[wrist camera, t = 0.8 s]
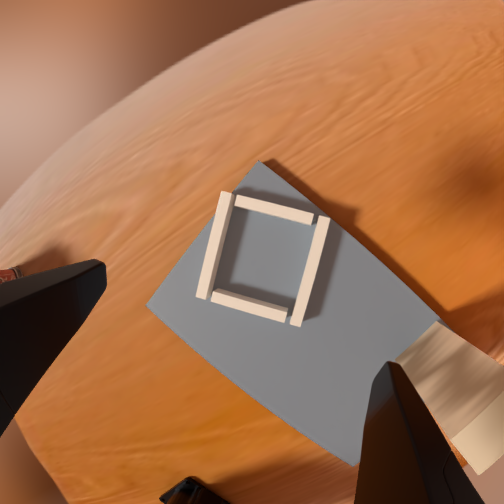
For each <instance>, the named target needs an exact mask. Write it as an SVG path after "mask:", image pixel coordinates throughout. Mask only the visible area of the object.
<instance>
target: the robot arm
mask: <svg viewBox="0 0 504 504" xmlns="http://www.w3.org/2000/svg"><path fill="white" fill-rule="evenodd" d="M106 286H107V277H106V265H105V263H104V262H101V261H99V260H97V259H91V260H87V261H83V262H79V263H75V264H71V265H67V266H63V267H59V268H55V269H52V270H48V271H44V272H40V273H36V274H32V275H29V276H25V277H21V278H17V279H14V280H10V281H6V282H3V283H2V284H1V283H0V437H1V435H2V434H3V432H4V431H5V429H6V428H7V426H8V425H9V423H10V422H11V420H12V419H13V417H14V416H15V414H16V413H17V411H18V410H19V408H20V407H21V406H22V404H23V403H24V401H25V400H26V398H27V397H28V396H29V394H30V393H31V391H32V390H33V389H34V387H35V386H36V384H37V383H38V382H39V380H40V379H41V378H42V376H43V375H44V374H45V372H46V371H47V370H48V368H49V367H50V366H51V364H52V363H53V362H54V360H55V359H56V358H57V356H58V355H59V354H60V352H61V351H62V350H63V349H64V347H65V346H66V345H67V343H68V342H69V341H70V340H71V338H72V337H73V336H74V335H75V333H76V332H77V331H78V330H79V328H80V327H81V326H82V324H83V323H84V321H85V320H86V318H87V317H88V315H89V314H90V312H91V311H92V309H93V308H94V306H95V305H96V303H97V302H98V300H99V299H100V297H101V296H102V294H103V293H104V291H105V289H106ZM188 481H189V482H188ZM159 499H160V501H161V502H163V503H164V504H230V503H228V502H227V501H225V500H223V499H222V498H220V497H219V496H217V495H215V494H214V493H212V492H211V491H209V490H208V489H206V488H205V487H203V486H202V485H200V484H199V483H197V482H196V481H194V480H193V479H191V478H189V477H187V478H185V479H184V480H182V481H181V482H179V483H178V484H177V485H175V486H174V487H173V488H171V489H170V490H168V491H167V492H166V493H164V494H163V495H161V496H160V498H159ZM354 504H485V503H484V501H483V500H482V499H481V497H480V495H479V494H478V492H477V491H476V489H475V488H474V486H473V485H472V483H471V482H470V480H469V478H468V477H467V476H466V474H465V472H464V470H463V469H462V467H461V465H460V463H459V462H458V460H457V458H456V456H455V455H454V453H453V451H451V448H450V446H449V444H448V442H447V441H446V439H445V437H444V435H443V434H442V432H441V430H440V429H439V427H438V425H437V423H436V422H435V420H434V418H433V417H432V415H431V413H430V412H429V410H428V408H427V407H426V405H425V403H424V402H423V400H422V398H421V397H420V395H419V394H418V392H417V390H416V389H415V387H414V385H413V384H412V382H411V381H410V379H409V377H408V376H407V374H406V373H405V371H404V370H403V368H402V366H401V365H400V364H399V363H396V362H392V361H387V362H385V363H384V365H383V366H382V368H381V369H380V371H379V372H378V373H377V375H376V376H375V378H374V380H373V382H372V386H371V392H370V397H369V403H368V408H367V413H366V418H365V423H364V429H363V438H362V447H361V456H360V465H359V473H358V480H357V487H356V494H355V500H354Z"/></svg>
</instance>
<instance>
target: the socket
mask: <svg viewBox="0 0 504 504" xmlns="http://www.w3.org/2000/svg"><path fill="white" fill-rule="evenodd" d="M235 198H236V201H235ZM234 202H235V206H237V207H239V208H243V209H247V210H251V211H255V212H259V213H263V214H267V215H271V216H275V217H279V218H283V219H287V220H291V221H294V222H298V223H302V224H306V225H310V226H311V223H312V219H313V215H314V214H313V213H309V212H305V211H301V210H297V209H294V208H290V207H286V206H282V205H278V204H274V203H270V202H266V201H262V200H258V199H253V198H249V197H245V196H241V195H237V197H236V196H235V195H234V194H232V193H228V192H224V191H221V194H220V198H219V202H218V206H217V210H216V214H215V218H214V222H213V225H212V229H211V233H210V238H209V242H208V246H207V250H206V254H205V258H204V262H203V266H202V271H201V275H200V279H199V283H198V288H197V292H196V297H198V298H201V299H204V300H206V299H208V298H209V297H211V294H212V297H211V302H214V303H217V304H221V305H224V306H227V307H231V308H234V309H237V310H241V311H244V312H247V313H251V314H254V315H258V316H261V317H265V318H269V319H272V320H276V321H279V322H283V323H284V322H285V319H286V315H287V311H288V308H286V307H282V306H279V305H275V304H272V303H268V302H264V301H261V300H257V299H254V298H250V297H247V296H243V295H240V294H236V293H233V292H230V291H226V290H223V289H219V288H217V289H216V290H214V291H213V293H212V290H213V286H214V282H215V277H216V273H217V269H218V265H219V261H220V257H221V253H222V249H223V245H224V241H225V237H226V233H227V229H228V225H229V221H230V217H231V213H232V209H233V206H234ZM329 222H330V218H328V217H324V216H320V215H319V217H318V220H317V224H316V228H315V232H314V236H313V240H312V243H311V247H310V251H309V255H308V259H307V262H306V266H305V270H304V273H303V277H302V280H301V284H300V288H299V291H298V295H297V298H296V302H295V305H294V309H293V312H292V316H291V319H290V325H294V326H298V327H301V323H302V320H303V317H304V313H305V310H306V307H307V303H308V300H309V296H310V293H311V289H312V286H313V282H314V279H315V275H316V271H317V268H318V264H319V260H320V257H321V253H322V249H323V245H324V242H325V238H326V234H327V230H328V226H329Z"/></svg>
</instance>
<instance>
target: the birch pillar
mask: <svg viewBox="0 0 504 504" xmlns="http://www.w3.org/2000/svg"><path fill="white" fill-rule="evenodd" d="M394 360H395V361H396V362H397V363H399V364H400V365H401V366H402V368H403V370H404V371H405V373H406V374H407V376H408V377H409V379H410V381H411V382H412V384H413V385H414V387H415V389H416V390H417V392H418V393H419V395H420V396H421V398H422V399H423V401H424V402H425V404H426V405H427V406H428V408H429V409H430V411H431V412H432V414H433V415H434V417H435V418H436V420H437V421H438V423H439V424H440V426H441V427H442V429H443V430H444V432H445V433H446V435H447V436H448V438H449V439H450V441H451V442H452V443H453V444H454V446H455V447H456V448H457V449H458V451H459V452H460V453H461V454H462V456H463V457H464V458H465V459H466V461H467V462H468V463H469V465H470V466H471V467H472V468H473V470H474V471H475V472H476V473H477V475H480V474H482V473H483V472H484V471H485V470H487V469H488V468H489V467H490V466H491V465H492V464H493V463H495V462H496V461H497V460H498V459H499V458H500V457H501V456H502V455H504V366H503V365H501V364H500V363H498V362H497V361H496V360H494V359H493V358H491V357H490V356H488V355H487V354H485V353H484V352H482V351H481V350H479V349H478V348H476V347H475V346H473V345H472V344H470V343H469V342H467V341H466V340H464V339H463V338H461V337H460V336H458V335H457V334H455V333H454V332H452V331H451V330H449V329H448V328H446V327H445V326H443V325H442V324H440V323H439V322H437V321H436V322H435V323H434V324H433V325H432V326H431V327H430V328H428V329H427V330H426V331H425V332H424V333H423V334H422V335H421V336H420V337H419V338H418V339H417V340H416V341H415V342H414V343H412V344H411V345H410V346H409V347H408V348H407V349H406V350H405V351H404V352H402V353H401V354H400V355H399V356H398V357H397V358H396V359H394Z"/></svg>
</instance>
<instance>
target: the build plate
mask: <svg viewBox="0 0 504 504" xmlns="http://www.w3.org/2000/svg"><path fill="white" fill-rule="evenodd" d="M232 194H234V195H235V196H236V197H237V195H241V196H245V197H249V198H253V199H258V200H262V201H266V202H270V203H274V204H278V205H282V206H286V207H290V208H294V209H297V210H301V211H305V212H309V213H313V214H314V215H313V219H312V223H311V226H310V225H306V224H302V223H298V222H294V221H291V220H287V219H283V218H279V217H275V216H271V215H267V214H263V213H259V212H255V211H251V210H247V209H243V208H239V207H237V206H235V202H234V206H233V209H232V213H231V217H230V221H229V225H228V229H227V233H226V237H225V241H224V245H223V249H222V253H221V257H220V261H219V265H218V269H217V273H216V277H215V282H214V286H213V290H212V293H213V291H214V290H216V289H217V288H219V289H223V290H226V291H230V292H233V293H236V294H240V295H243V296H247V297H250V298H254V299H257V300H261V301H264V302H268V303H272V304H275V305H279V306H282V307H286V308H288V311H287V315H286V319H285V322H284V323H283V322H279V321H276V320H272V319H269V318H265V317H261V316H258V315H254V314H251V313H247V312H244V311H241V310H237V309H234V308H231V307H227V306H224V305H221V304H217V303H214V302H211V297H212V294H211V297H209V298H208V299H206V300H204V299H201V298H198V297H196V292H197V288H198V283H199V279H200V275H201V271H202V266H203V262H204V258H205V254H206V250H207V246H208V242H209V238H210V233H211V229H212V225H213V222H214V218H215V215H214V216H213V217H212V218H211V220H210V221H209V222H208V223H207V225H206V226H205V227H204V229H203V230H202V231H201V232H200V234H199V235H198V236H197V238H196V239H195V240H194V241H193V243H192V244H191V245H190V247H189V248H188V249H187V251H186V252H185V253H184V255H183V256H182V257H181V258H180V260H179V261H178V262H177V264H176V265H175V266H174V268H173V269H172V270H171V272H170V273H169V274H168V276H167V277H166V278H165V280H164V281H163V282H162V284H161V285H160V287H159V288H158V289H157V291H156V292H155V293H154V295H153V296H152V297H151V299H150V300H149V302H148V303H147V304H146V306H147V307H148V308H149V309H150V310H151V311H152V312H153V313H154V314H155V315H156V316H157V317H158V318H159V319H160V320H161V321H163V322H164V323H165V324H166V325H167V326H168V327H169V328H170V329H171V330H172V331H174V332H175V333H176V334H177V335H178V336H179V337H180V338H181V339H182V340H184V341H185V342H186V343H187V344H188V345H189V346H190V347H192V348H193V349H194V350H195V351H196V352H197V353H198V354H200V355H201V356H202V357H203V358H204V359H205V360H207V361H208V362H209V363H210V364H211V365H213V366H214V367H215V368H216V369H217V370H219V371H220V372H221V373H222V374H223V375H225V376H226V377H227V378H228V379H230V380H231V381H232V382H233V383H235V384H236V385H237V386H238V387H240V388H241V389H242V390H243V391H245V392H246V393H247V394H249V395H250V396H251V397H252V398H254V399H255V400H256V401H258V402H259V403H260V404H262V405H263V406H264V407H266V408H267V409H268V410H270V411H271V412H272V413H274V414H275V415H276V416H278V417H279V418H281V419H282V420H283V421H285V422H286V423H288V424H289V425H290V426H292V427H293V428H295V429H296V430H297V431H299V432H300V433H302V434H303V435H305V436H306V437H308V438H309V439H311V440H312V441H313V442H315V443H316V444H318V445H319V446H321V447H322V448H324V449H326V450H327V451H329V452H330V453H332V454H333V455H335V456H336V457H338V458H339V459H341V460H343V461H344V462H346V463H347V464H349V465H351V466H352V467H354V466H355V465H356V464H357V463H359V462H360V456H361V447H362V438H363V429H364V423H365V418H366V413H367V408H368V403H369V397H370V392H371V386H372V382H373V380H374V378H375V376H376V375H377V373H378V372H379V371H380V369H381V368H382V366H383V365H384V363H385V362H387V361H392V362H396V361H395V360H394V359H396V358H397V357H398V356H399V355H400V354H401V353H402V352H404V351H405V350H406V349H407V348H408V347H409V346H410V345H411V344H412V343H414V342H415V341H416V340H417V339H418V338H419V337H420V336H421V335H422V334H423V333H424V332H425V331H426V330H427V329H428V328H430V327H431V326H432V325H433V324H434V323H435V322H436V321H437V322H439V323H440V324H442V325H443V326H445V327H446V328H448V329H449V330H451V331H452V332H454V331H453V330H452V329H451V328H450V327H449V326H448V325H447V324H446V323H445V322H444V321H443V320H442V319H441V318H440V317H439V316H438V315H437V314H436V313H435V312H434V311H433V310H432V309H431V308H430V307H429V306H427V305H426V304H425V303H424V302H423V301H422V300H421V299H420V298H419V297H418V296H417V295H416V294H415V293H414V292H413V291H412V290H411V289H410V288H409V287H408V286H407V285H406V284H405V283H403V282H402V281H401V280H400V279H399V278H398V277H397V276H396V275H395V274H394V273H393V272H392V271H391V270H389V269H388V268H387V267H386V266H385V265H384V264H383V263H382V262H381V261H380V260H378V259H377V258H376V257H375V256H374V255H373V254H372V253H371V252H369V251H368V250H367V249H366V248H365V247H364V246H363V245H362V244H360V243H359V242H358V241H357V240H356V239H355V238H354V237H352V236H351V235H350V234H349V233H348V232H347V231H345V230H344V229H343V228H342V227H341V226H340V225H338V224H337V223H336V222H335V221H334V220H333V219H331V218H330V217H329V216H328V215H327V214H325V213H324V212H323V211H322V210H321V209H319V208H318V207H317V206H316V205H315V204H313V203H312V202H311V201H310V200H308V199H307V198H306V197H305V196H303V195H302V194H301V193H300V192H299V191H297V190H296V189H295V188H294V187H292V186H291V185H290V184H289V183H287V182H286V181H285V180H283V179H282V178H281V177H280V176H278V175H277V174H276V173H275V172H273V171H272V170H271V169H269V168H268V167H267V166H265V165H264V164H263V163H262V162H260V161H259V160H258V162H257V163H256V164H255V165H254V166H253V168H252V169H251V170H250V171H249V172H248V174H247V175H246V176H245V177H244V179H243V180H242V181H241V182H240V183H239V185H238V186H237V187H236V188H235V190H234V191H233V192H232ZM235 201H236V198H235ZM215 214H216V213H215ZM319 215H320V216H324V217H328V218H330V222H329V226H328V230H327V234H326V238H325V242H324V245H323V249H322V253H321V257H320V260H319V264H318V268H317V271H316V275H315V279H314V282H313V286H312V289H311V293H310V296H309V300H308V303H307V307H306V310H305V313H304V317H303V320H302V323H301V327H298V326H294V325H290V319H291V316H292V312H293V309H294V305H295V302H296V298H297V295H298V291H299V288H300V284H301V280H302V277H303V273H304V270H305V266H306V262H307V259H308V255H309V251H310V247H311V243H312V240H313V236H314V232H315V228H316V224H317V220H318V217H319ZM454 333H455V332H454ZM396 363H397V362H396ZM418 394H419V393H418ZM420 397H421V396H420ZM422 400H423V399H422ZM423 402H424V401H423ZM424 403H425V402H424Z"/></svg>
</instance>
